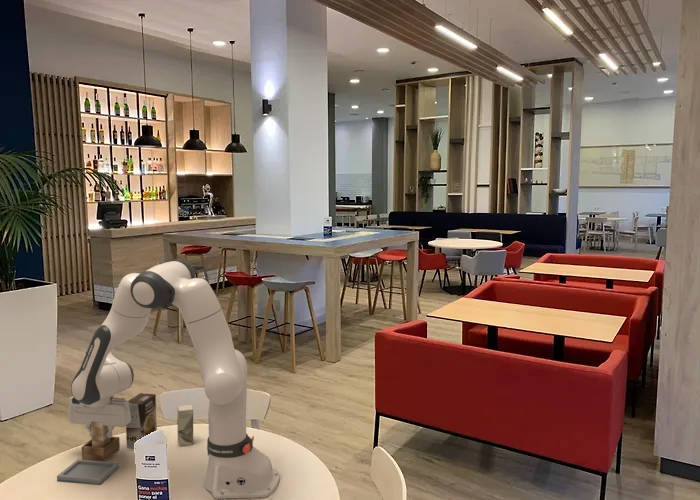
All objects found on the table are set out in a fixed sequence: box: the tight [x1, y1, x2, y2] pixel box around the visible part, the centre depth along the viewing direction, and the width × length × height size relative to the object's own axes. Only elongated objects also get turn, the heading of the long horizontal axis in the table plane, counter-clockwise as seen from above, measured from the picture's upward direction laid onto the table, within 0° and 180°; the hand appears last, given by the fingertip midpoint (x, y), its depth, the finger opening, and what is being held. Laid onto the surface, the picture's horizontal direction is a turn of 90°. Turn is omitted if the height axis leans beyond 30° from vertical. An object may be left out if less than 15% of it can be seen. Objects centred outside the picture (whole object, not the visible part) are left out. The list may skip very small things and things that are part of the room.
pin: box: [91, 422, 111, 448], centre depth 176 cm, size 4×4×12 cm
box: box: [176, 404, 194, 447], centre depth 185 cm, size 5×4×13 cm
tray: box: [56, 458, 120, 486], centre depth 165 cm, size 14×10×2 cm
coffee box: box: [125, 392, 158, 449], centre depth 185 cm, size 9×6×16 cm
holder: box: [81, 435, 121, 462], centre depth 177 cm, size 8×8×4 cm
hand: (101, 436), depth 176 cm, fingers closed on pin, 4 cm apart
